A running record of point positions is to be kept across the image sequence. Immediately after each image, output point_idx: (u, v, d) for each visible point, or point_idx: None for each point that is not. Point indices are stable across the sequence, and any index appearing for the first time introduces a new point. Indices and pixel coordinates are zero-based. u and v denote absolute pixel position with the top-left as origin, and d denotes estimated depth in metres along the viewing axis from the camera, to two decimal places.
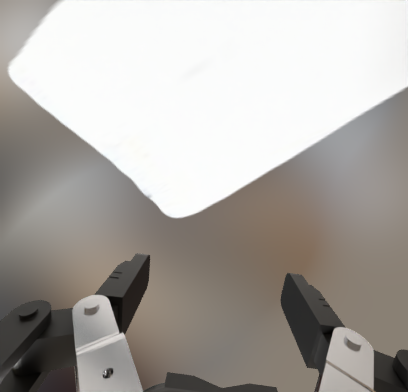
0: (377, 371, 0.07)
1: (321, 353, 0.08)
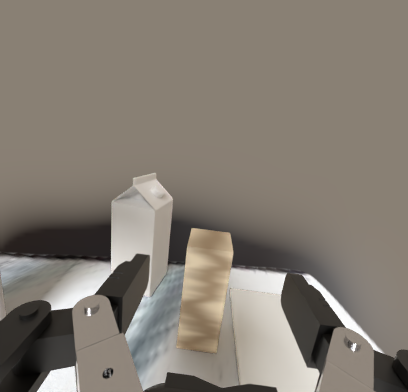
0: (377, 371, 0.07)
1: (321, 353, 0.08)
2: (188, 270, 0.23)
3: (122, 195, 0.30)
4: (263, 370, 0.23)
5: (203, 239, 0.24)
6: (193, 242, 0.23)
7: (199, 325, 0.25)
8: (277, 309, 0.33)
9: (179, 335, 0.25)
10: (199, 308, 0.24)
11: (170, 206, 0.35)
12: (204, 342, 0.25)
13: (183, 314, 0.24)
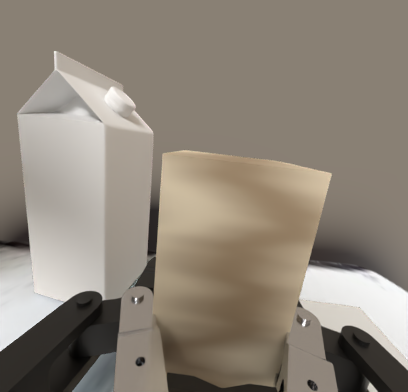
0: None
1: None
2: (168, 244, 0.07)
3: (39, 100, 0.14)
4: None
5: (216, 156, 0.08)
6: (186, 154, 0.07)
7: None
8: None
9: None
10: (206, 364, 0.08)
11: (147, 142, 0.19)
12: None
13: None
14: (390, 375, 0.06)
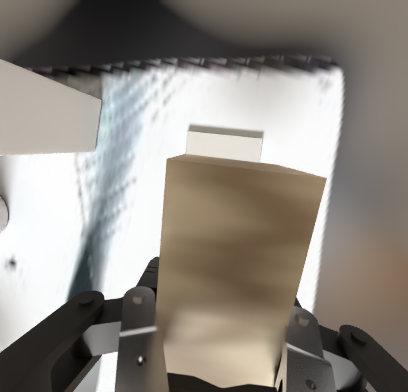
0: None
1: None
2: (171, 246, 0.07)
3: None
4: None
5: (217, 161, 0.08)
6: (188, 159, 0.07)
7: None
8: None
9: None
10: (207, 361, 0.08)
11: None
12: None
13: None
14: (388, 374, 0.06)
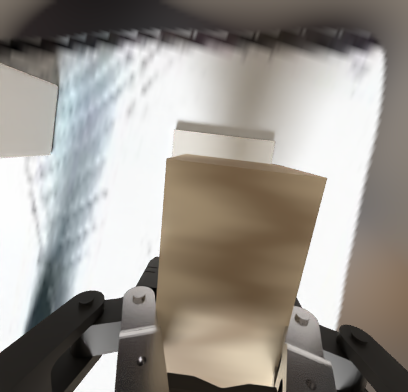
0: None
1: None
2: (171, 246, 0.07)
3: None
4: None
5: (216, 160, 0.08)
6: (188, 159, 0.07)
7: None
8: None
9: None
10: (207, 361, 0.08)
11: None
12: None
13: None
14: (388, 374, 0.06)
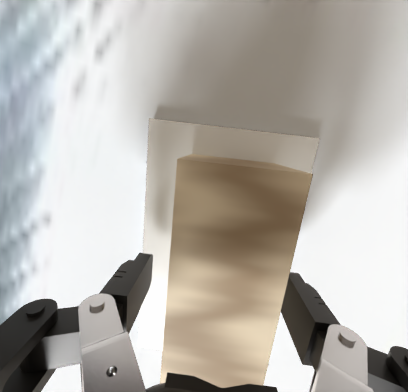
0: (370, 367, 0.07)
1: (316, 350, 0.08)
2: (181, 233, 0.08)
3: None
4: None
5: (219, 159, 0.10)
6: (194, 158, 0.09)
7: (211, 376, 0.10)
8: None
9: None
10: (211, 335, 0.09)
11: None
12: None
13: (170, 348, 0.10)
14: None
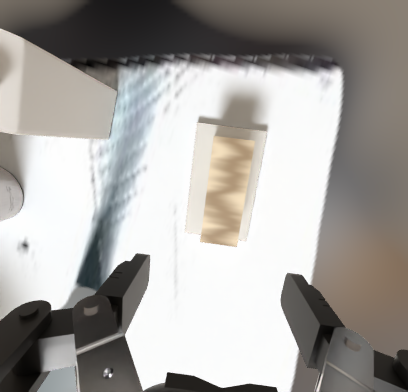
0: (377, 371, 0.07)
1: (321, 353, 0.08)
2: (213, 160, 0.25)
3: None
4: None
5: None
6: None
7: (221, 218, 0.27)
8: None
9: (203, 228, 0.28)
10: (222, 200, 0.27)
11: (34, 63, 0.16)
12: (226, 235, 0.28)
13: (207, 206, 0.27)
14: None
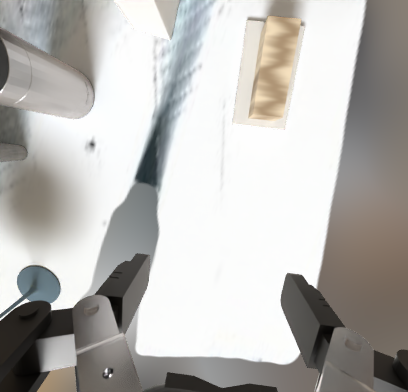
0: (377, 371, 0.07)
1: (321, 353, 0.08)
2: (267, 38, 0.32)
3: None
4: None
5: None
6: None
7: (271, 91, 0.33)
8: None
9: (256, 101, 0.34)
10: (273, 74, 0.33)
11: None
12: (274, 107, 0.34)
13: (260, 80, 0.33)
14: None
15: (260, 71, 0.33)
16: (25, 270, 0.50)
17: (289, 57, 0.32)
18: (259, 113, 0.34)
